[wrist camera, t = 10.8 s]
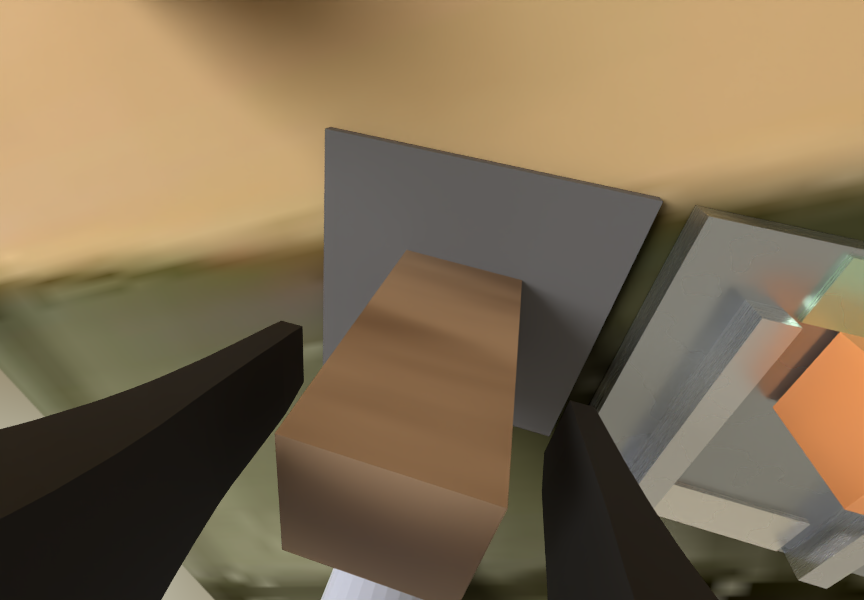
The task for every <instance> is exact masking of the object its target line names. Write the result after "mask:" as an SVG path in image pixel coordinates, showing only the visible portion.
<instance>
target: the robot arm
mask: <svg viewBox="0 0 864 600" xmlns="http://www.w3.org/2000/svg"><path fill="white" fill-rule="evenodd" d="M303 382H304V373H303V330H302V326H299V325H295V324H292V323H288V322H284V321H280V322H278V323H276V324H273V325H271V326H269V327H267V328H265V329H263V330H261V331H259V332H257V333H255V334H253V335H251V336H249V337H247V338H245V339H243V340H241V341H239V342H237V343H235V344H233V345H230V346H228V347H226V348H224V349H222V350H220V351H218V352H216V353H214V354H212V355H210V356H208V357H206V358H203V359H201V360H199V361H197V362H194V363H192V364H190V365H187V366H185V367H183V368H181V369H178V370H176V371H174V372H171V373H169V374H167V375H165V376H162V377H160V378H158V379H155V380H153V381H150V382H148V383H145V384H142V385H140V386H137V387H135V388H132V389H129V390H126V391H124V392H121V393H118V394H115V395H113V396H110V397H107V398H104V399H101V400H98V401H95V402H92V403H89V404H86V405H83V406H79V407H76V408H73V409H70V410H66V411H63V412H60V413H56V414H53V415H50V416H47V417H43V418H40V419H37V420H33V421H30V422H26V423H23V424H19V425H15V426H11V427H7V428H4V429H0V600H161V599H162V597H163V596H164V594H165V592H166V590H167V589H168V587H169V585H170V583H171V582H172V580H173V578H174V576H175V575H176V573H177V571H178V570H179V568H180V566H181V565H182V563H183V561H184V560H185V558H186V556H187V555H188V553H189V551H190V550H191V548H192V546H193V544H194V543H195V541H196V539H197V538H198V536H199V535H200V533H201V531H202V530H203V528H204V527H205V525H206V523H207V522H208V520H209V519H210V517H211V515H212V514H213V512H214V511H215V509H216V507H217V506H218V504H219V503H220V501H221V500H222V498H223V497H224V495H225V494H226V493H227V491H228V490H229V488H230V487H231V485H232V484H233V483H234V481H235V480H236V479H237V478H238V476H239V475H240V474H241V472H242V471H243V470H244V468H245V467H246V466H247V464H248V463H249V462H250V460H251V459H252V458H253V456H254V455H255V454H256V452H257V451H258V450H259V449H260V447H261V446H262V445H263V443H264V442H265V441H266V439H267V438H268V437H269V435H270V434H271V433H272V431H273V430H274V429H275V427H276V426H277V425H278V423H279V422H280V421H281V419H282V418H283V416H284V415H285V414H286V412H287V410H288V409H289V407H290V405H291V404H292V402H293V400H294V398H295V397H296V395H297V393H298V391H299V389H300V388H301V386H302V384H303ZM542 503H543V521H544V539H545V555H546V572H547V589H548V600H718V599H717V597H716V596H715V595H714V593H713V592H712V591H711V589H710V588H709V587H708V585H707V584H706V583H705V581H704V580H703V579H702V577H701V576H700V575H699V573H698V572H697V571H696V569H695V568H694V567H693V565H692V564H691V563H690V561H689V560H688V558H687V557H686V556H685V554H684V553H683V551H682V550H681V549H680V547H679V546H678V544H677V543H676V541H675V540H674V538H673V537H672V535H671V534H670V532H669V531H668V529H667V528H666V526H665V525H664V523H663V522H662V520H661V519H660V518H659V516H658V515H657V513H656V512H655V510H654V508H653V507H652V505H651V504H650V502H649V500H648V499H647V497H646V496H645V494H644V492H643V491H642V489H641V487H640V486H639V484H638V482H637V481H636V479H635V477H634V476H633V474H632V472H631V471H630V469H629V467H628V466H627V464H626V462H625V460H624V459H623V457H622V455H621V453H620V452H619V450H618V448H617V446H616V444H615V443H614V441H613V439H612V437H611V436H610V434H609V432H608V430H607V428H606V427H605V425H604V423H603V421H602V419H601V418H600V416H599V414H598V412H597V411H596V409H595V407H593V406H589V405H585V404H582V403H578V402H574V401H571V400H570V401H569V403H568V405H567V407H566V409H565V411H564V413H563V415H562V417H561V419H560V421H559V424H558V426H557V428H556V430H555V432H554V434H553V436H552V438H551V440H550V442H549V444H548V446H547V448H546V450H545V452H544V466H543V482H542ZM321 600H423V599H420V598H417V597H414V596H412V595H409V594H406V593H403V592H400V591H398V590H395V589H392V588H389V587H386V586H383V585H381V584H378V583H375V582H372V581H369V580H367V579H364V578H361V577H358V576H355V575H352V574H350V573H347V572H344V571H341V570H338V569H335V568H334V569H333V571H332V574H331V576H330V578H329V581H328V583H327V586H326V588H325V591H324V593H323V596H322V598H321Z"/></svg>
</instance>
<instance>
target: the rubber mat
mask: <svg viewBox="0 0 864 600" xmlns="http://www.w3.org/2000/svg"><path fill="white" fill-rule="evenodd" d="M662 203H663V201H662V200H661V199H660V198H659V197H655V196H650V195H646V194H641V193H636V192H632V191H627V190H622V189H618V188H613V187H608V186H604V185H599V184H594V183H590V182H585V181H580V180H576V179H571V178H566V177H562V176H557V175H552V174H548V173H543V172H538V171H534V170H529V169H524V168H520V167H515V166H510V165H506V164H501V163H496V162H492V161H487V160H482V159H478V158H473V157H468V156H464V155H459V154H454V153H450V152H445V151H440V150H436V149H431V148H426V147H421V146H417V145H412V144H407V143H403V142H398V141H393V140H389V139H384V138H379V137H375V136H370V135H365V134H361V133H356V132H351V131H347V130H342V129H337V128H333V127H329V128H326V129H325V193H324V303H323V365H324V364H325V363H326V361H327V360H328V358H329V357H330V356H331V354H332V353H333V352H334V350H335V349H336V347H337V346H338V345H339V343H340V342H341V340H342V339H343V338H344V336H345V335H346V333H347V332H348V331H349V329H350V328H351V326H352V325H353V324H354V322H355V321H356V320H357V318H358V317H359V315H360V314H361V313H362V311H363V310H364V308H365V307H366V306H367V304H368V303H369V301H370V300H371V299H372V297H373V296H374V294H375V293H376V292H377V290H378V289H379V287H380V286H381V285H382V283H383V282H384V281H385V279H386V278H387V276H388V275H389V274H390V272H391V271H392V269H393V268H394V267H395V265H396V264H397V262H398V261H399V260H400V258H401V257H402V255H403V254H404V253H405V251H406V250H409V251H413V252H417V253H420V254H424V255H428V256H432V257H436V258H439V259H443V260H447V261H451V262H455V263H458V264H462V265H466V266H470V267H474V268H477V269H481V270H485V271H489V272H493V273H496V274H500V275H504V276H508V277H512V278H515V279H519V280H522V288H521V304H520V320H519V335H518V351H517V367H516V383H515V398H514V414H513V426H515V427H519V428H522V429H526V430H529V431H533V432H536V433H540V434H543V435H547V436H550V434H551V432H552V430H553V428H554V425H555V423H556V421H557V419H558V417H559V415H560V413H561V411H562V409H563V407H564V405H565V403H566V401H567V399H568V397H569V395H570V392H571V390H572V388H573V386H574V384H575V382H576V380H577V378H578V376H579V374H580V372H581V370H582V368H583V366H584V364H585V362H586V359H587V357H588V355H589V353H590V351H591V349H592V347H593V345H594V343H595V341H596V339H597V337H598V335H599V333H600V331H601V328H602V326H603V324H604V322H605V320H606V318H607V316H608V314H609V312H610V310H611V308H612V306H613V304H614V302H615V300H616V298H617V295H618V293H619V291H620V289H621V287H622V285H623V283H624V281H625V279H626V277H627V275H628V273H629V271H630V269H631V267H632V265H633V262H634V260H635V258H636V256H637V254H638V252H639V250H640V248H641V246H642V244H643V242H644V240H645V238H646V236H647V234H648V231H649V229H650V227H651V225H652V223H653V221H654V219H655V217H656V215H657V213H658V211H659V209H660V207H661V205H662Z"/></svg>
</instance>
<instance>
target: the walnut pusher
mask: <svg viewBox="0 0 864 600" xmlns="http://www.w3.org/2000/svg"><path fill="white" fill-rule="evenodd" d="M521 288H522V280H519V279H515V278H512V277H508V276H504V275H500V274H496V273H493V272H489V271H485V270H481V269H477V268H474V267H470V266H466V265H462V264H458V263H455V262H451V261H447V260H443V259H439V258H436V257H432V256H428V255H424V254H420V253H417V252H413V251H409V250H406V251H405V253H404V254H403V255H402V257H401V258H400V260H399V261H398V262H397V264H396V265H395V267H394V268H393V269H392V271H391V272H390V274H389V275H388V276H387V278H386V279H385V281H384V282H383V283H382V285H381V286H380V287H379V289H378V290H377V292H376V293H375V294H374V296H373V297H372V299H371V300H370V301H369V303H368V304H367V306H366V307H365V308H364V310H363V311H362V313H361V314H360V315H359V317H358V318H357V320H356V321H355V322H354V324H353V325H352V326H351V328H350V329H349V331H348V332H347V333H346V335H345V336H344V338H343V339H342V340H341V342H340V343H339V345H338V346H337V347H336V349H335V350H334V352H333V353H332V354H331V356H330V357H329V358H328V360H327V361H326V363H325V364H324V365H323V367H322V368H321V370H320V371H319V372H318V374H317V375H316V377H315V378H314V379H313V381H312V382H311V384H310V385H309V386H308V388H307V389H306V391H305V392H304V393H303V395H302V396H301V397H300V399H299V400H298V402H297V403H296V404H295V406H294V407H293V409H292V410H291V411H290V413H289V414H288V416H287V417H286V418H285V420H284V421H283V423H282V424H281V425H280V427H279V428H278V430H277V431H276V432H275V446H276V461H277V477H278V492H279V508H280V523H281V539H282V550H285V551H288V552H290V553H293V554H296V555H299V556H302V557H304V558H307V559H310V560H313V561H316V562H319V563H321V564H324V565H327V566H330V567H333V568H335V569H338V570H341V571H344V572H347V573H350V574H352V575H355V576H358V577H361V578H364V579H367V580H369V581H372V582H375V583H378V584H381V585H383V586H386V587H389V588H392V589H395V590H398V591H400V592H403V593H406V594H409V595H412V596H414V597H417V598H420V599H423V600H462V598H463V596H464V594H465V592H466V590H467V588H468V586H469V584H470V582H471V580H472V578H473V576H474V574H475V572H476V570H477V568H478V566H479V564H480V562H481V560H482V558H483V556H484V554H485V552H486V550H487V548H488V546H489V544H490V542H491V540H492V538H493V536H494V534H495V532H496V530H497V528H498V526H499V524H500V522H501V520H502V518H503V517H504V515H505V513H506V511H507V508H508V493H509V477H510V461H511V445H512V430H513V414H514V398H515V383H516V367H517V351H518V335H519V320H520V304H521Z"/></svg>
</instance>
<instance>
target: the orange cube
mask: <svg viewBox="0 0 864 600" xmlns="http://www.w3.org/2000/svg"><path fill="white" fill-rule="evenodd" d="M773 409H774V410H775V412H776V413H777V414H778V416H779V417H780V419H781V420H782V422H783V423H784V424H785V426H786V427H787V429H788V430H789V431H790V433H791V434H792V436H793V437H794V439H795V440H796V441H797V443H798V444H799V446H800V447H801V449H802V450H803V451H804V453H805V454H806V456H807V457H808V458H809V460H810V461H811V463H812V464H813V466H814V467H815V468H816V470H817V471H818V473H819V474H820V476H821V477H822V478H823V480H824V481H825V483H826V484H827V485H828V487H829V488H830V490H831V491H832V493H833V494H834V495H835V497H836V498H837V500H838V501H839V502H840V504H841V505H842V507H843V508H844V510H848V511H851V512H855V513H858V514H862V515H864V337H860V336H856V335H852V334H848V333H843V332H840V333H839V334H838V335H837V336H836V337H835V338H834V339H833V340H832V341H831V343H830V344H829V345H828V346H827V347H826V348H825V349H824V350H823V351H822V353H821V354H820V355H819V356H818V357H817V358H816V359H815V360H814V361H813V363H812V364H811V365H810V366H809V367H808V368H807V369H806V370H805V372H804V373H803V374H802V375H801V376H800V377H799V378H798V379H797V380H796V382H795V383H794V384H793V385H792V386H791V387H790V388H789V389H788V390H787V392H786V393H785V394H784V395H783V396H782V397H781V398H780V399H779V400H778V402H777V403H776V404H775V405H774V406H773Z"/></svg>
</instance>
